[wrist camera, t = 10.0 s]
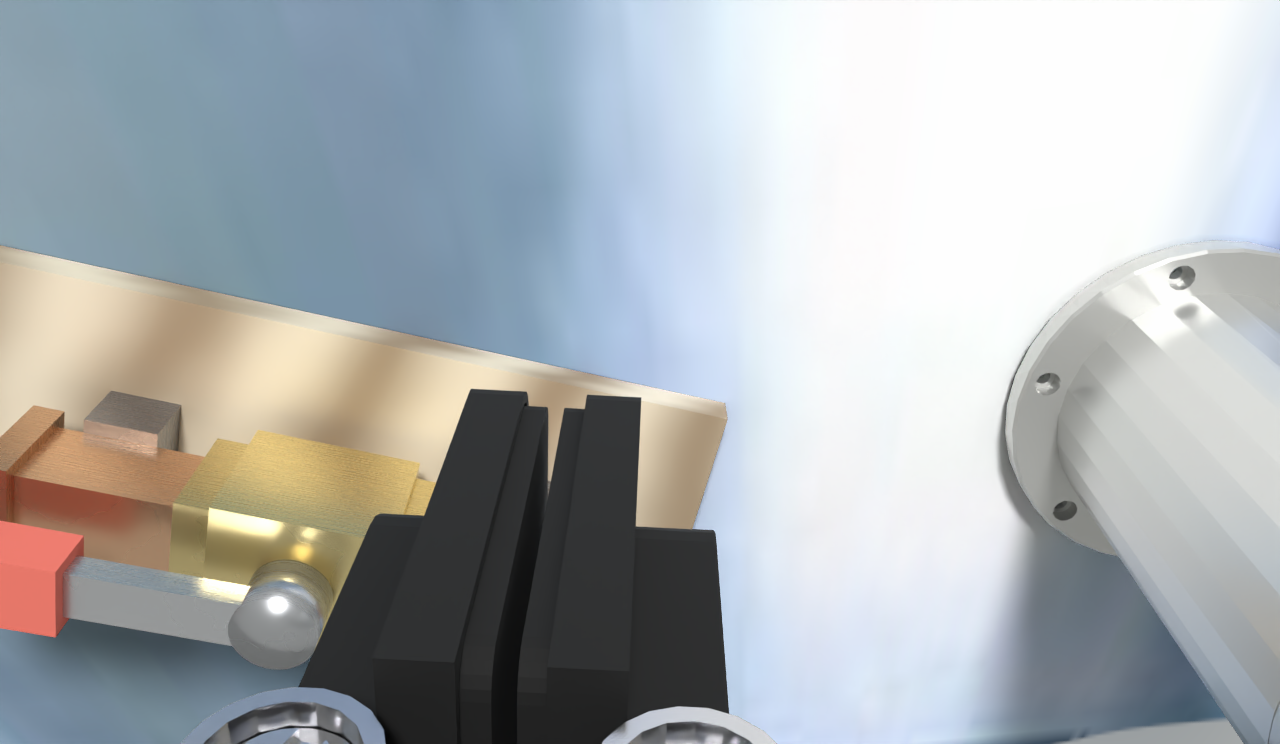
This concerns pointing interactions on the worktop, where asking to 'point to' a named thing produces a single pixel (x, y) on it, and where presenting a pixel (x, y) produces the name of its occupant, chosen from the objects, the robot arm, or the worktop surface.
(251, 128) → the worktop surface
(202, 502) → the valve body
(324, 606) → the valve lever
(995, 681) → the worktop surface
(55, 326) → the board
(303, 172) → the worktop surface
